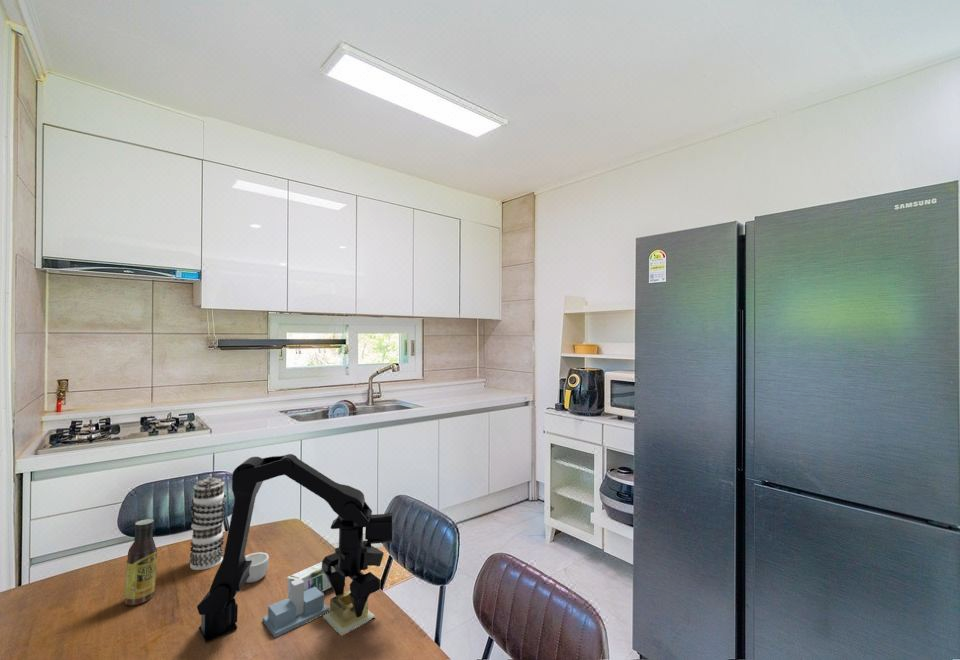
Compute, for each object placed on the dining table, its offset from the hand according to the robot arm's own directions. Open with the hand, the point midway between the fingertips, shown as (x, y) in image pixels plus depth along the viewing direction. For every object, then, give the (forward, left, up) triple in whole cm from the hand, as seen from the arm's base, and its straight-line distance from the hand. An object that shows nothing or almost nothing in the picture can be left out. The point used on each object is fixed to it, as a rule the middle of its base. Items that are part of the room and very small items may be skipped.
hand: (349, 607), depth 105 cm
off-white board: (0, 0, -2) cm, 2 cm away
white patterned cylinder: (-18, +53, -3) cm, 57 cm away
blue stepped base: (-9, +9, -2) cm, 13 cm away
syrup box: (+7, +17, +1) cm, 19 cm away
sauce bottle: (-35, +44, -3) cm, 57 cm away
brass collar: (0, 0, -2) cm, 2 cm away
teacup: (-10, +35, -3) cm, 37 cm away
